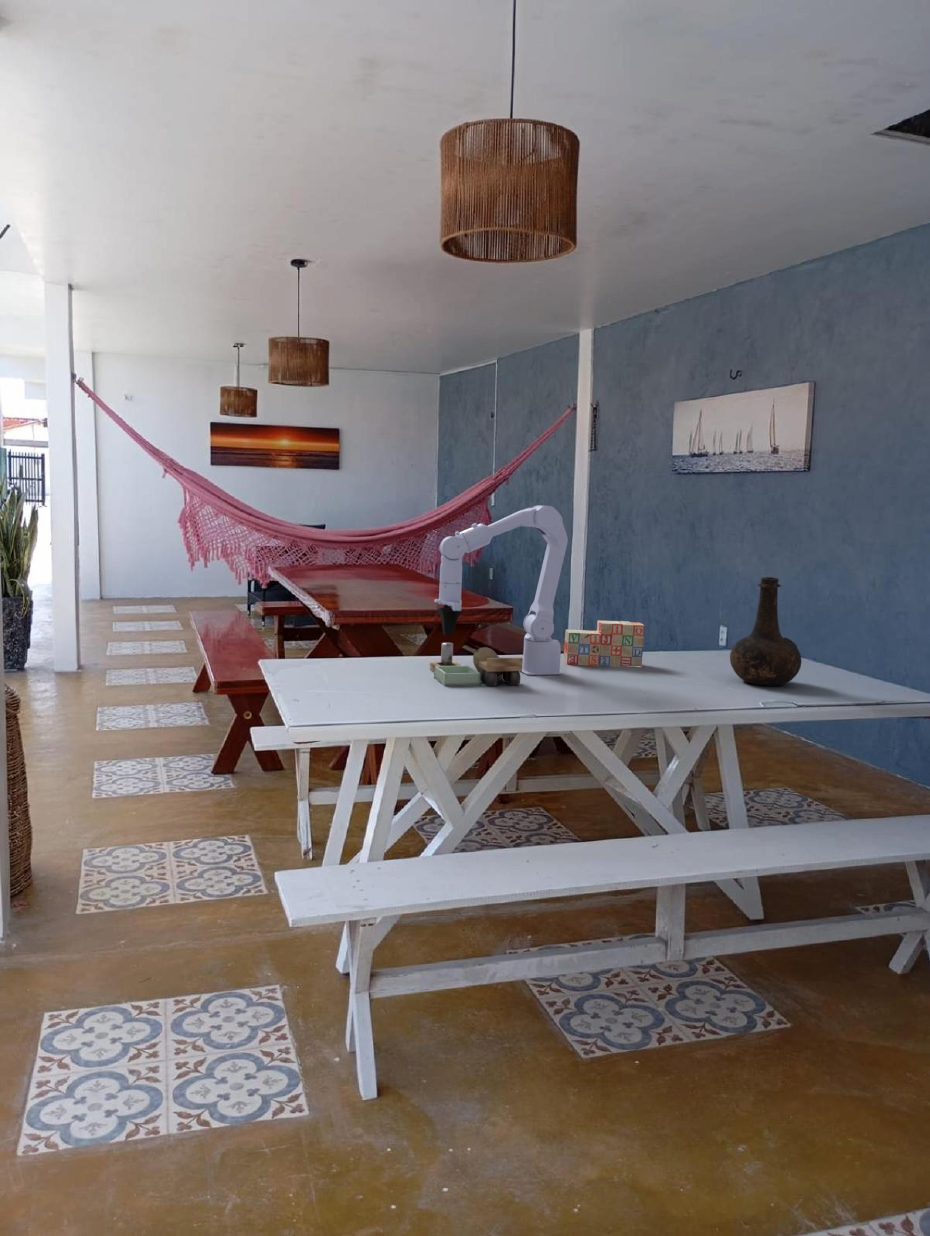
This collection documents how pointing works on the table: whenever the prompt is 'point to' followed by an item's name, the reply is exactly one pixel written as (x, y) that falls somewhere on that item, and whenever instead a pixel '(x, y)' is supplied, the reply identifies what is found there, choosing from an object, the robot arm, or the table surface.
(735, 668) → the glass bottle
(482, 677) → the trolley
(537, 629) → the robot arm
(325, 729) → the table surface
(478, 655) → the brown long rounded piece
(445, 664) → the pin
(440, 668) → the tray
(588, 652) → the stack of blocks
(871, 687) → the table surface
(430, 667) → the pin holder
